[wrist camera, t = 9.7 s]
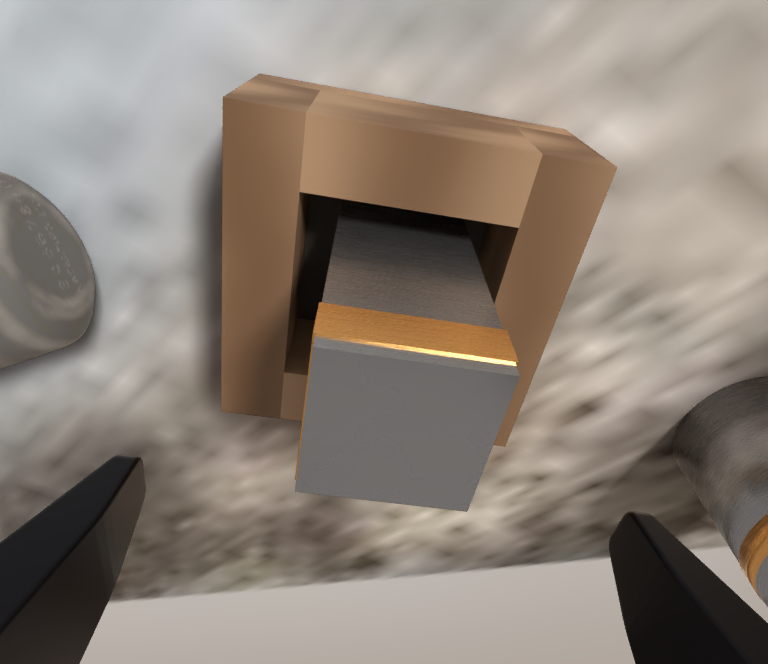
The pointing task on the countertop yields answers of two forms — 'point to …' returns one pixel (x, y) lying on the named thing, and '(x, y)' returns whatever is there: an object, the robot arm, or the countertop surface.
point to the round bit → (732, 470)
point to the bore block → (393, 189)
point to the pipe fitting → (39, 276)
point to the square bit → (403, 364)
